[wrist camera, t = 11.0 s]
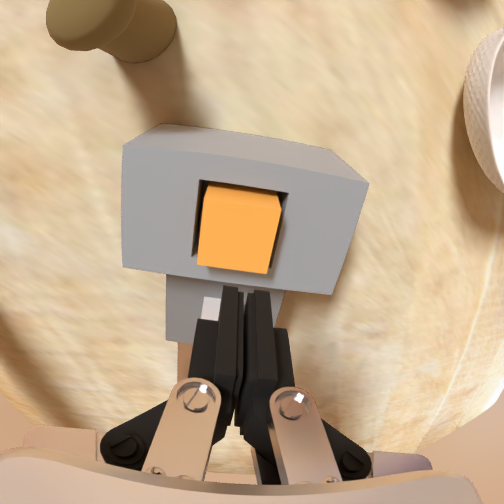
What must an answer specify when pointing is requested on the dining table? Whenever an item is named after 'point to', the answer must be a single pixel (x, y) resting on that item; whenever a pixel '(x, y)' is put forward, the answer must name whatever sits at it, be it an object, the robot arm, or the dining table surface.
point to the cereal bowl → (487, 106)
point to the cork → (113, 26)
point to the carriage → (202, 304)
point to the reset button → (238, 227)
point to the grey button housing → (241, 173)
